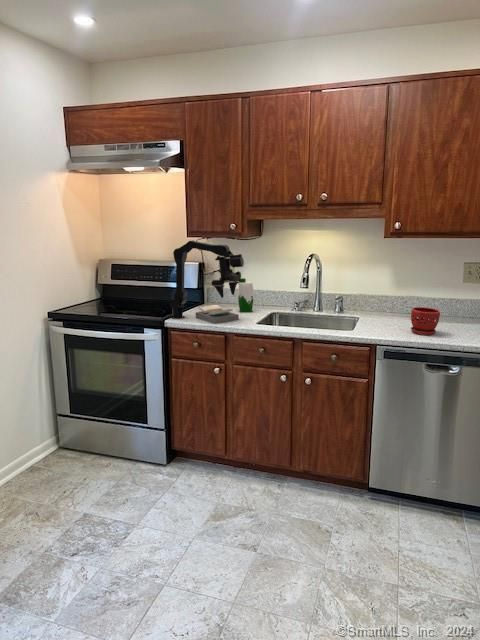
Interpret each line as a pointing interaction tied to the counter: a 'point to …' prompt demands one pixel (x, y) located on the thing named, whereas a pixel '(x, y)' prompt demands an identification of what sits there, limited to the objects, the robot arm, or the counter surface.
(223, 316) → the rocker switch panel
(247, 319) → the counter surface
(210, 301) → the counter surface
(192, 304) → the counter surface
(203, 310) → the plate
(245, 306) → the milk carton
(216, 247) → the robot arm
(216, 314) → the green rocker
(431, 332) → the plant pot
